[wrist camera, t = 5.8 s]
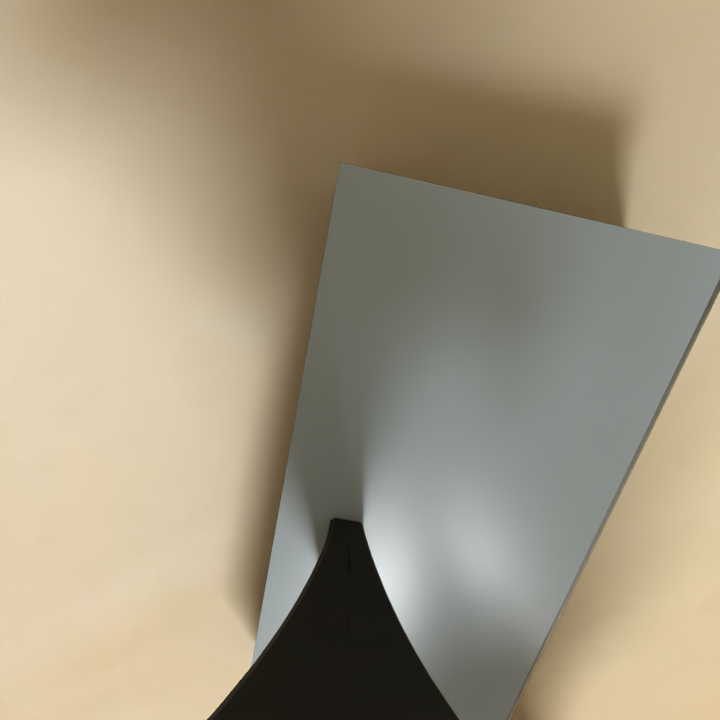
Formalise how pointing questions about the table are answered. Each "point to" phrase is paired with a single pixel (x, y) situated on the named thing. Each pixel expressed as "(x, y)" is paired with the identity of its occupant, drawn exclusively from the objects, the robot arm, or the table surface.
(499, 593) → the cover
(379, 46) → the table surface
